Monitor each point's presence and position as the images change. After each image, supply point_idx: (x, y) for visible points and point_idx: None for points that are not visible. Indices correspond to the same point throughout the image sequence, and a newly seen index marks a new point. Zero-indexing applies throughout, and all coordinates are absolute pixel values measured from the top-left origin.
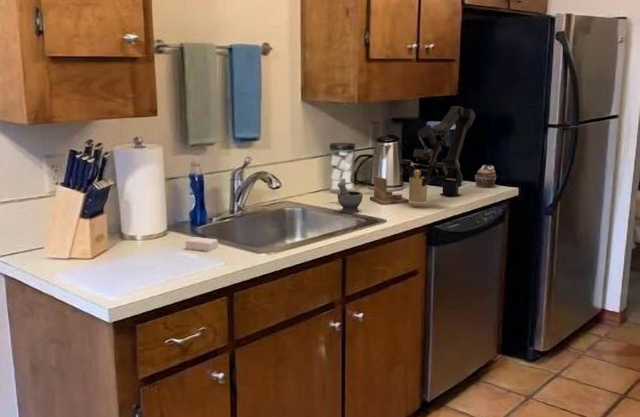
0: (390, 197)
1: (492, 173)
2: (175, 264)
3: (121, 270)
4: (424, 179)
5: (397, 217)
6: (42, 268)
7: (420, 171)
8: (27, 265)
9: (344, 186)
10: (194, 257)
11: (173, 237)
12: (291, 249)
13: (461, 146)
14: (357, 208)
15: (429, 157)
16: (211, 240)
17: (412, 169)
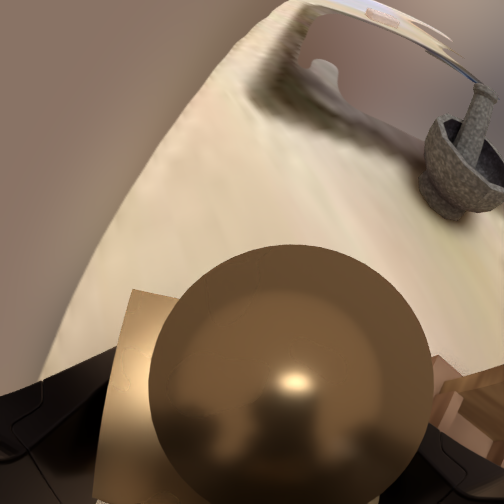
0: (436, 415)
1: None
2: (351, 2)
3: (367, 3)
4: (108, 378)
5: (236, 145)
6: (406, 15)
7: (166, 347)
8: (418, 20)
9: (476, 95)
10: (357, 8)
11: (436, 48)
12: (299, 7)
13: None
14: (431, 192)
15: None
16: (374, 11)
17: (494, 500)
